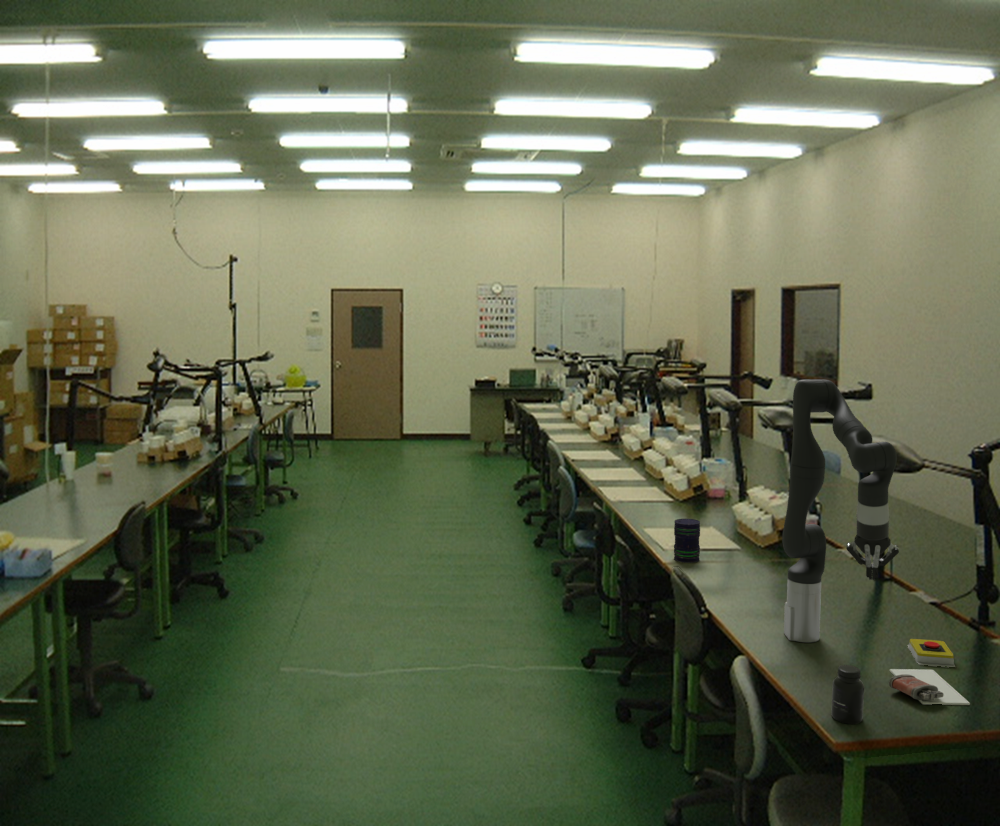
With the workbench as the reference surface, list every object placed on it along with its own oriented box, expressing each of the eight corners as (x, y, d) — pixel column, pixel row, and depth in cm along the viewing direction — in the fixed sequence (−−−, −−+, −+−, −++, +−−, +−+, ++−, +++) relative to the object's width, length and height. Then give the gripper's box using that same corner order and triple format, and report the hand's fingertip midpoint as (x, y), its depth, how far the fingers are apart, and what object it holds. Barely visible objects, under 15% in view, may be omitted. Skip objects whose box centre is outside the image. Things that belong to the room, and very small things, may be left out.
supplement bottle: (831, 722, 199) (832, 672, 198) (831, 709, 206) (832, 661, 204) (863, 727, 197) (865, 676, 196) (862, 714, 203) (864, 664, 202)
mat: (922, 704, 208) (922, 702, 208) (889, 670, 228) (889, 669, 228) (969, 705, 208) (969, 703, 208) (932, 671, 227) (932, 669, 227)
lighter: (888, 689, 215) (921, 705, 206) (889, 675, 215) (922, 691, 205) (912, 686, 218) (946, 702, 209) (913, 673, 218) (947, 688, 208)
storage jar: (699, 556, 340) (700, 519, 338) (699, 563, 330) (700, 524, 329) (674, 555, 342) (674, 518, 340) (673, 562, 332) (673, 523, 331)
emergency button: (918, 650, 231) (906, 631, 246) (918, 666, 232) (906, 646, 246) (957, 653, 229) (942, 634, 244) (956, 669, 230) (941, 649, 244)
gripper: (900, 512, 221) (899, 573, 226) (845, 510, 226) (844, 569, 231) (901, 525, 215) (900, 587, 220) (844, 522, 220) (844, 583, 225)
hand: (871, 578), depth 226 cm, fingers closed
